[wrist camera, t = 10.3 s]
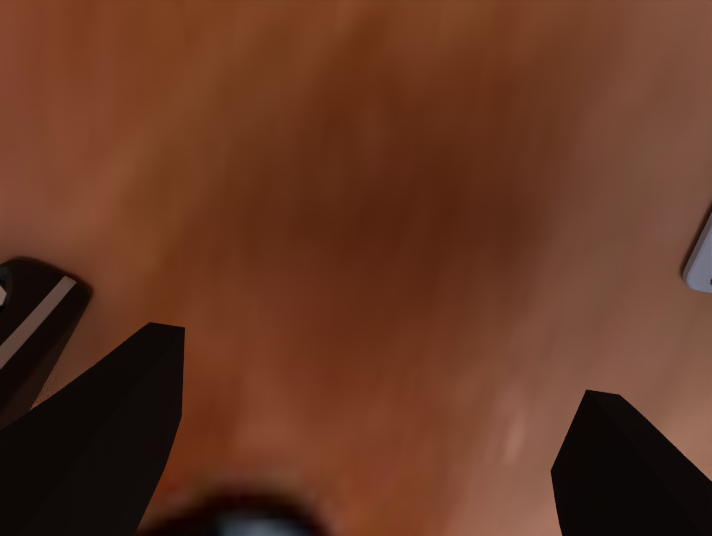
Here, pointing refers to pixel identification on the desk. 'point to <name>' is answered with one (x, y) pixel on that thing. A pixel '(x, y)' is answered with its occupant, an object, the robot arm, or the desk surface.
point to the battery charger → (33, 331)
